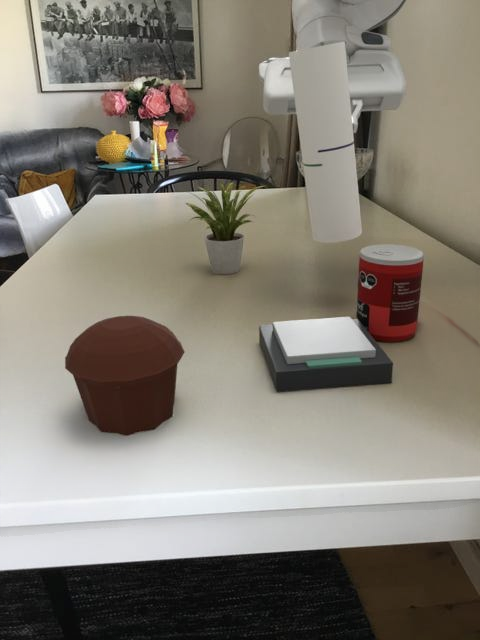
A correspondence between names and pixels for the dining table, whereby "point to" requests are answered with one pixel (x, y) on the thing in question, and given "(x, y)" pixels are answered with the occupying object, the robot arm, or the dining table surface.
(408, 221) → the dining table surface
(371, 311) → the canned food
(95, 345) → the muffin
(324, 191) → the cylindrical container
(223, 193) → the house plant
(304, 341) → the kitchen scale
